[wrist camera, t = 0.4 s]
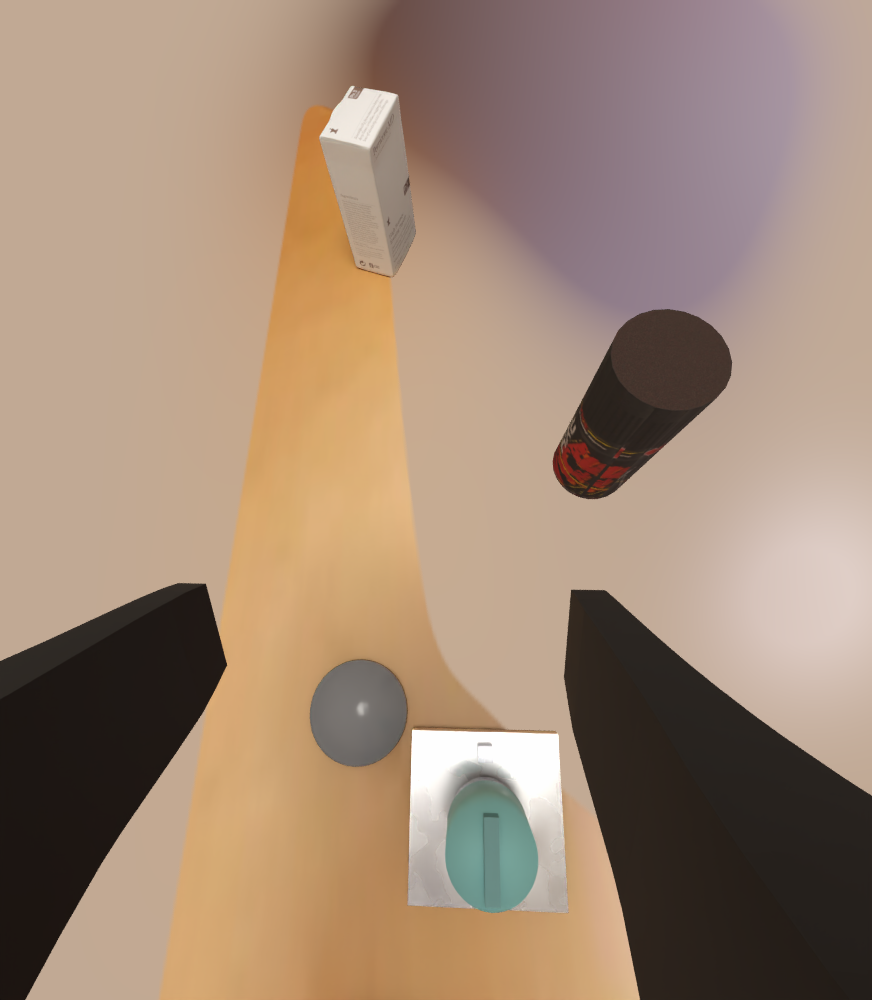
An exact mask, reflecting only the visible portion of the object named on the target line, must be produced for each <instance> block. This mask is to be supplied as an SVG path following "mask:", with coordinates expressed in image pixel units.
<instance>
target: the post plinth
mask: <svg viewBox="0 0 872 1000" xmlns="http://www.w3.org/2000/svg"><path fill="white" fill-rule="evenodd" d="M481 780H489V781H494V782H498V783H500V784H502V785H504V786H506V787H507V788H508V789H510V790H511V791H512V792H513V793H514V794H515V795H516V797H517V798H518V799H519V801H520V803H521V804H522V806H523V809H524V811H525V814H526V817H527V820H528V822H529V825H530V828H531V831H532V833H533V836H534V839H535V842H536V846H537V851H538V871H537V876H536V879H535V882H534V885H533V887H532V889H531V891H530V892H529V894H528V895H527V897H526V898H525V899H524V900H523V901H522V902H521V903H520V904H518V905H517V906H516V907H514V908H512V909H510V910H515V911H536V912H557V913H568V897H567V879H566V862H565V845H564V827H563V810H562V793H561V777H560V758H559V741H558V734H557V732H555V731H534V730H496V729H457V728H418V727H414V728H413V730H412V759H411V797H410V835H409V872H408V905H410V906H431V907H452V908H473V909H476V908H474V907H473V906H471V905H469V904H468V903H467V902H466V901H465V900H463V899H462V897H461V896H460V895H459V894H458V893H457V891H456V890H455V888H454V887H453V885H452V883H451V881H450V878H449V876H448V872H447V868H446V862H445V847H446V833H447V818H448V813H449V809H450V806H451V804H452V802H453V800H454V798H455V797H456V795H457V794H458V793H459V792H460V791H461V790H462V789H463V788H464V787H466V786H467V785H469V784H471V783H473V782H476V781H481Z"/></svg>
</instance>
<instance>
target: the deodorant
mask: <svg viewBox="0 0 872 1000" xmlns="http://www.w3.org/2000/svg"><path fill="white" fill-rule="evenodd" d="M731 368H732V360H731V356H730V352H729V348H728V347H727V345H726V343H725V341H724V339H723V338H722V336H721V335H720V334H719V333H718V332H717V331H716V330H715V329H714V328H713V327H712V326H711V325H710V324H708V323H706V322H705V321H704V320H702V319H700V318H699V317H697V316H694V315H691V314H689V313H686V312H682V311H676V310H670V309H665V310H652V311H649V312H645V313H641V314H639V315H637V316H635V317H634V318H632V319H630V320H629V321H627V322H626V323H625V324H624V325H623V326H622V327H621V328H620V329H619V331H618V332H617V334H616V336H615V338H614V340H613V342H612V344H611V346H610V348H609V349H608V351H607V353H606V355H605V357H604V359H603V361H602V363H601V365H600V367H599V369H598V371H597V373H596V374H595V376H594V378H593V380H592V382H591V384H590V386H589V388H588V390H587V392H586V394H585V395H584V398H583V399H582V401H581V404H580V405H579V407H578V409H577V411H576V413H575V415H574V417H573V418H572V420H571V422H570V424H569V426H568V428H567V430H566V432H565V434H564V436H563V438H562V440H561V442H560V444H559V445H558V447H557V449H556V451H555V453H554V458H553V470H554V473H555V475H556V478H557V480H558V481H559V482H560V484H561V485H562V486H563V487H564V488H565V489H566V490H567V491H569V492H570V493H572V494H574V495H576V496H578V497H582V498H586V499H598V498H602V497H606V496H608V495H610V494H611V493H613V492H615V491H616V490H617V489H618V488H619V487H620V486H621V485H622V484H623V483H625V482H626V481H627V480H628V479H629V478H630V477H631V476H632V475H633V474H634V473H635V472H637V471H638V470H639V469H640V468H641V467H642V466H643V465H644V464H645V463H646V462H647V461H649V459H651V458H652V457H653V456H654V455H655V454H656V453H657V452H658V451H659V450H660V449H661V448H663V447H664V446H665V445H666V444H667V443H668V442H669V441H670V440H671V439H672V438H674V437H675V436H676V435H677V434H678V433H679V432H680V431H681V430H682V429H683V428H684V427H685V426H687V425H688V424H689V423H690V422H691V421H692V420H693V419H694V418H695V417H696V416H697V415H699V414H700V413H701V412H702V411H703V410H704V409H705V408H706V407H707V406H708V405H709V404H710V403H712V402H713V401H714V400H715V399H716V398H717V397H718V396H719V394H720V393H721V392H722V391H723V390H724V389H725V388H726V386H727V383H728V381H729V379H730V376H731Z"/></svg>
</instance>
